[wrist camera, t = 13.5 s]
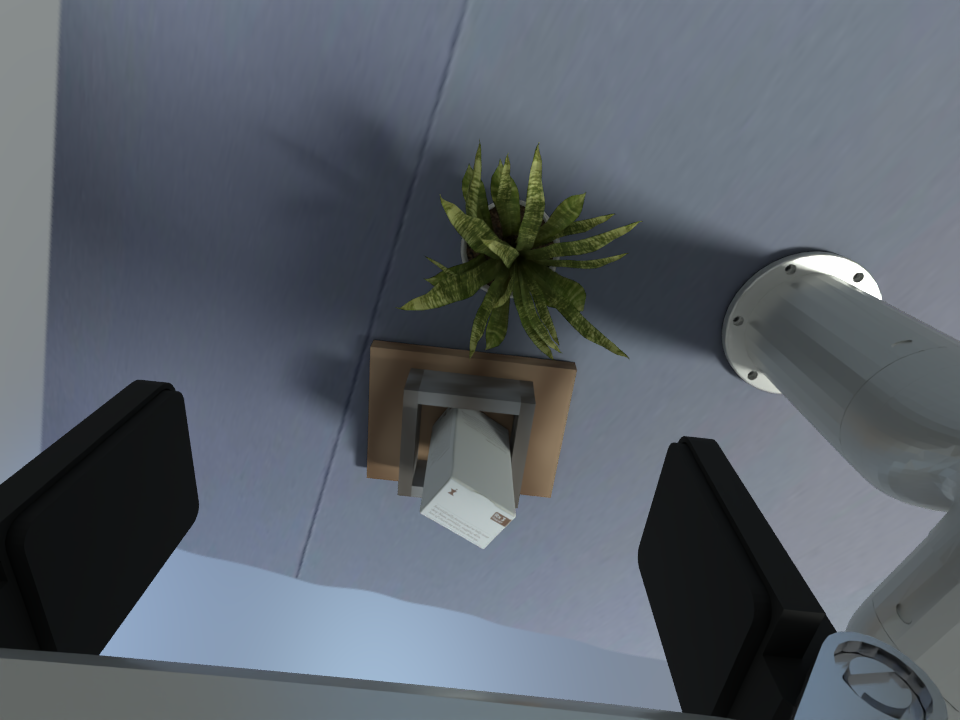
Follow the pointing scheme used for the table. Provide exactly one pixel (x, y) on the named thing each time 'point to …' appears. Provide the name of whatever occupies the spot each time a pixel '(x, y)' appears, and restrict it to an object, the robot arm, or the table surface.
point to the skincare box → (469, 476)
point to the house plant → (518, 259)
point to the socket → (465, 385)
